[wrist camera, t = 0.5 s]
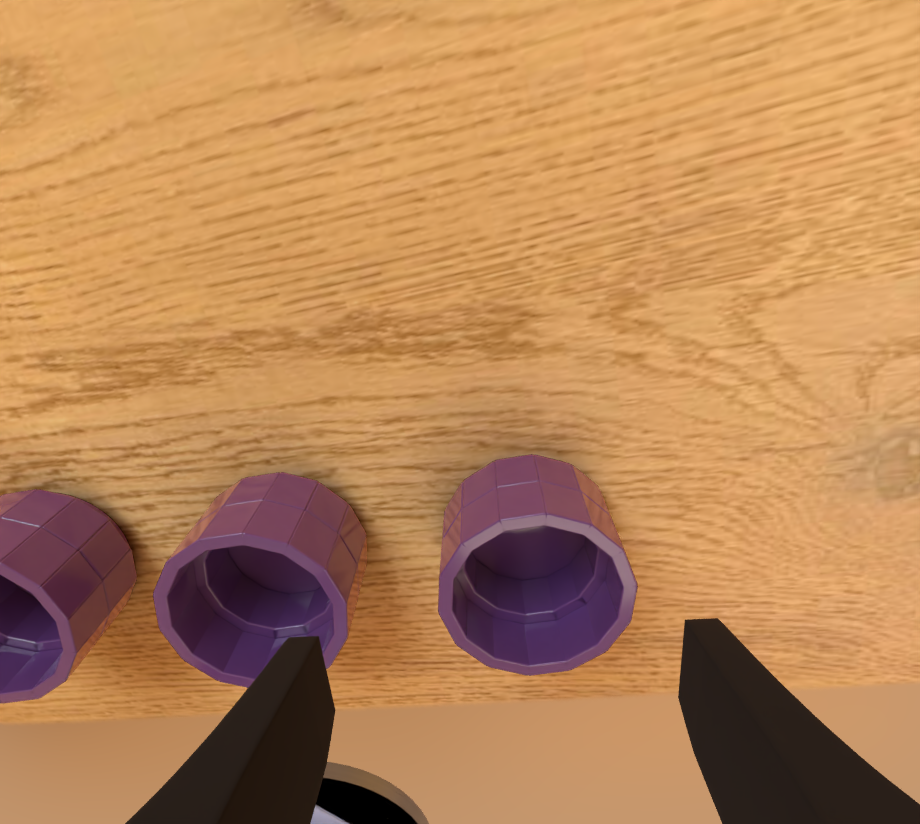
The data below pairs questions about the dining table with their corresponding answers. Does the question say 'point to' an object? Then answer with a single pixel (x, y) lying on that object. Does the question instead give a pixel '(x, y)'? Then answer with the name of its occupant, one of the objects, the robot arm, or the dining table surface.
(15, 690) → the purple faceted cup
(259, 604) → the purple cup
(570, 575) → the purple cup
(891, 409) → the dining table surface
